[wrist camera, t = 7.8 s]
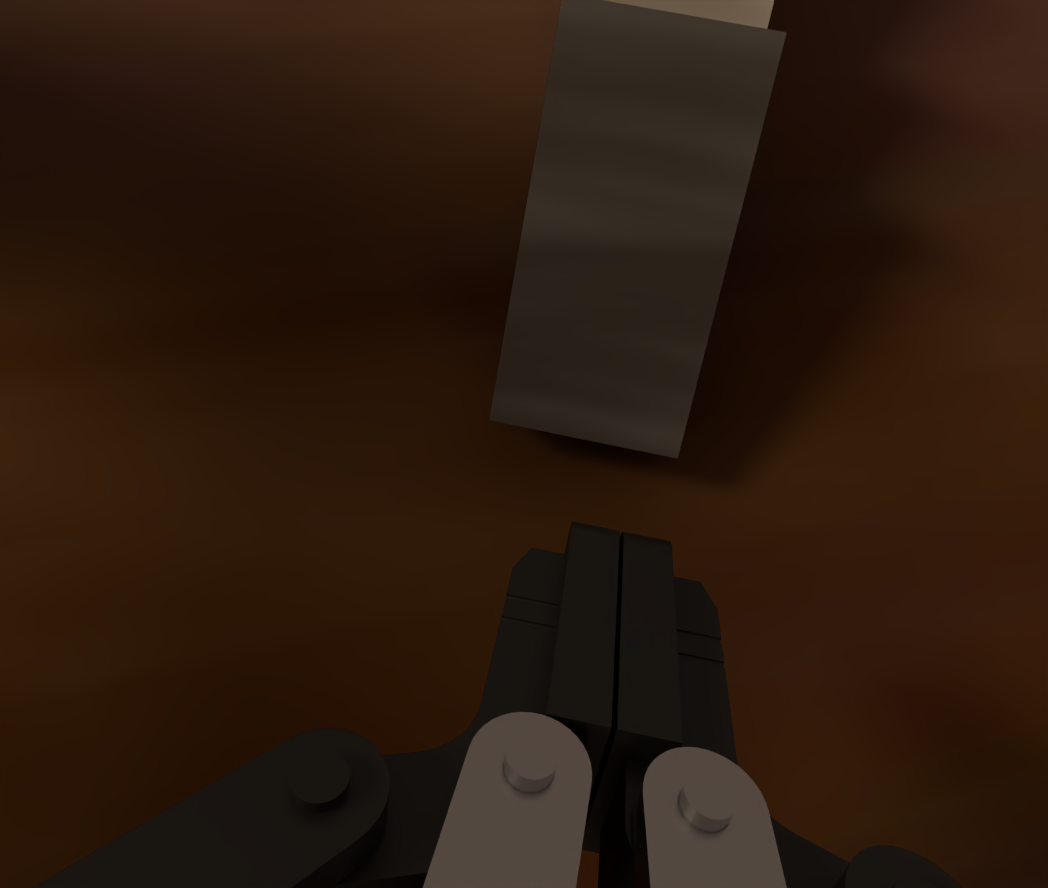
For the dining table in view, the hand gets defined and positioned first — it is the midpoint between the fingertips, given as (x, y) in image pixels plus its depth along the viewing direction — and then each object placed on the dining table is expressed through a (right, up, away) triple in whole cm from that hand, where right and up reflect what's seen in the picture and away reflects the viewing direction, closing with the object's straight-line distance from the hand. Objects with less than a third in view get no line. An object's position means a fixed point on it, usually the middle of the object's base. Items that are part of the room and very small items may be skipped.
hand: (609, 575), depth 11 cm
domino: (0, +2, +9) cm, 9 cm away
